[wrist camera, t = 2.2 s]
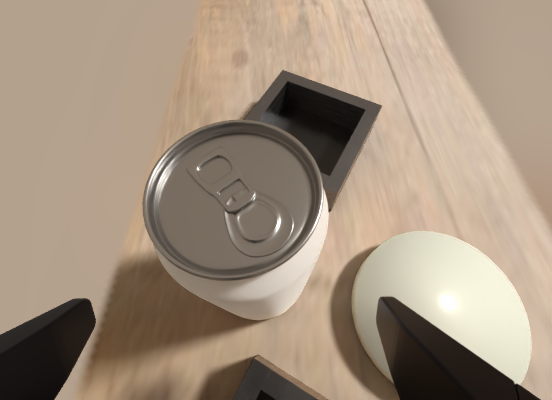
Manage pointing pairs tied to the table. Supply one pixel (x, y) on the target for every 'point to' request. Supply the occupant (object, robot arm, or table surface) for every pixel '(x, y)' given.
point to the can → (238, 216)
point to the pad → (444, 298)
